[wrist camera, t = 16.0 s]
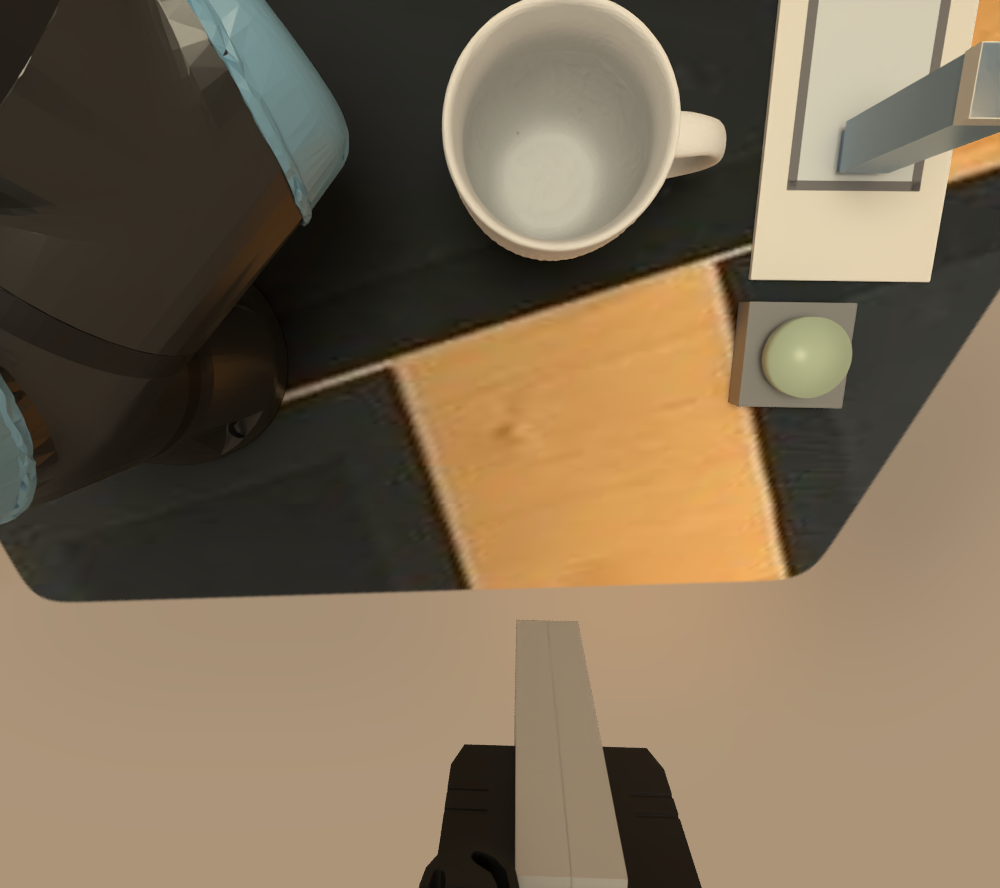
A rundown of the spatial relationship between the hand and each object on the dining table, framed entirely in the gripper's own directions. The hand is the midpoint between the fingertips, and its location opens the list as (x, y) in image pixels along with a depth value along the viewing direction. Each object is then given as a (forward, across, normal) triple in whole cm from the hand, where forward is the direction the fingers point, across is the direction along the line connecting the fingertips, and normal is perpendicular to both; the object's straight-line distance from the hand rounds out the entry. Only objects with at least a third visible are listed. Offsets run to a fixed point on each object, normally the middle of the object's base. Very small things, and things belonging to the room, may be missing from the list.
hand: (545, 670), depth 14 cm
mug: (+30, +2, +17) cm, 34 cm away
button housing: (+29, +18, +6) cm, 35 cm away
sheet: (+29, +21, +23) cm, 43 cm away
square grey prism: (+29, +21, +19) cm, 40 cm away
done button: (+29, +18, +6) cm, 35 cm away
